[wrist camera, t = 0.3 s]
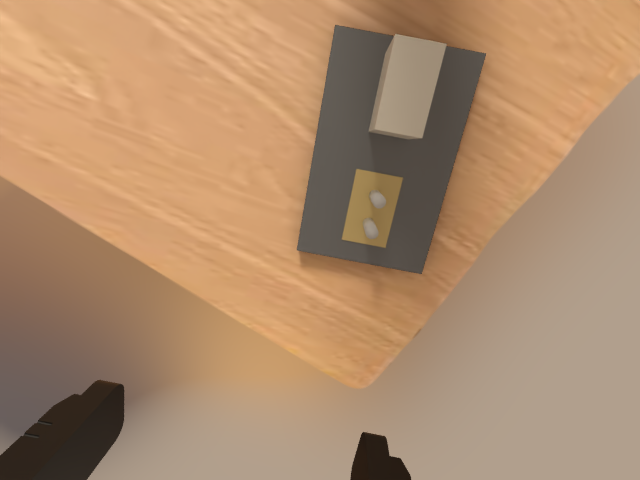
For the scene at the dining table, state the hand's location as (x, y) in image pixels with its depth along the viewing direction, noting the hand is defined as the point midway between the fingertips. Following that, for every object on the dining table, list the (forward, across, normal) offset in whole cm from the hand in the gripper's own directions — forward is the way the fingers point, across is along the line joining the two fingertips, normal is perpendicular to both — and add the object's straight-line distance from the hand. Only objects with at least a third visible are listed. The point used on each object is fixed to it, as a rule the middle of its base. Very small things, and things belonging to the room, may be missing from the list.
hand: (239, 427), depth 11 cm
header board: (+27, -6, -8) cm, 29 cm away
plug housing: (+26, -6, -14) cm, 30 cm away
